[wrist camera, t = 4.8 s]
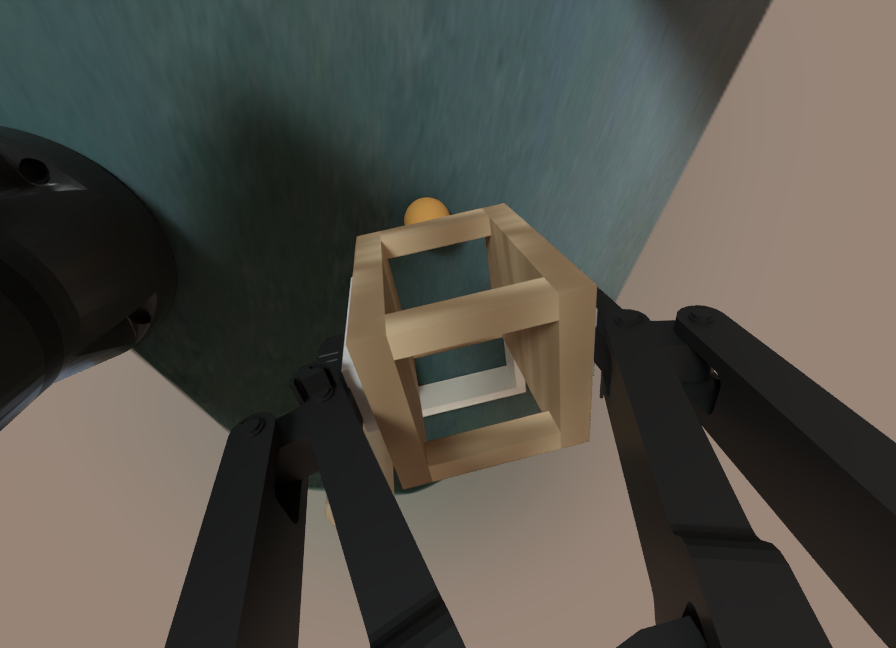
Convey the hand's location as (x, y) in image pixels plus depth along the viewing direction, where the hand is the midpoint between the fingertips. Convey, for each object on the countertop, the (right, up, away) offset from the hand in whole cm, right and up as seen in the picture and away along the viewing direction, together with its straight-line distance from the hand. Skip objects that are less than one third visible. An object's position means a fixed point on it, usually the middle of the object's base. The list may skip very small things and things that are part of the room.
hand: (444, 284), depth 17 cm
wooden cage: (0, 0, 0) cm, 0 cm away
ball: (-2, +6, +10) cm, 12 cm away
